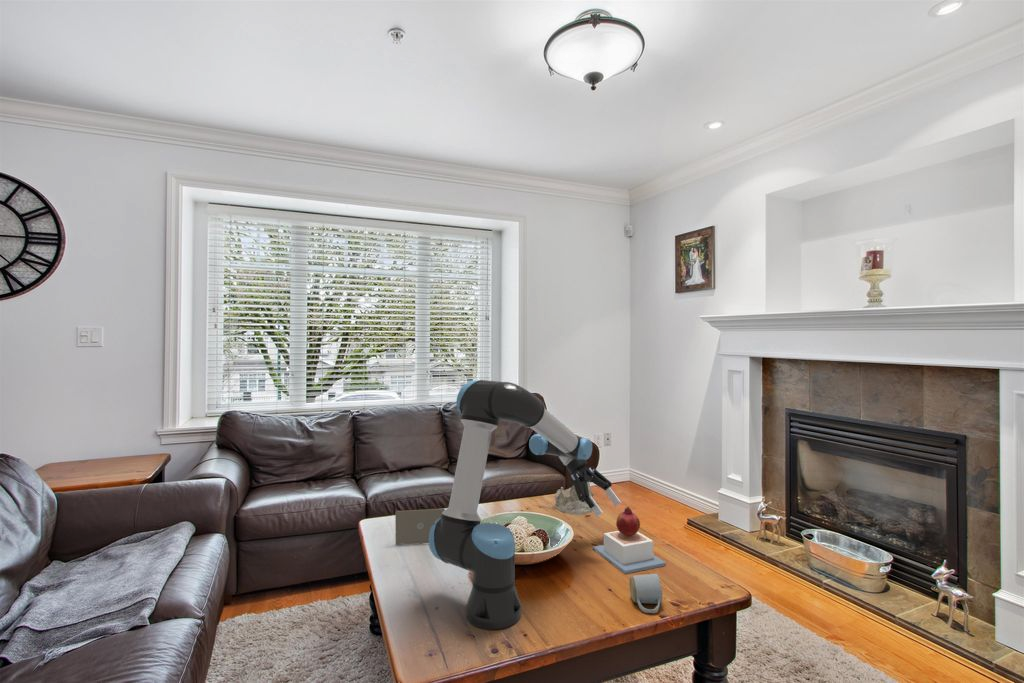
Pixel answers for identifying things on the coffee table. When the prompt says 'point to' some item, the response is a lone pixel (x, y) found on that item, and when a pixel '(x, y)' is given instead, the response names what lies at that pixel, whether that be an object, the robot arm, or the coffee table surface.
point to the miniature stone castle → (571, 501)
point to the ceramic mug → (646, 591)
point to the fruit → (628, 523)
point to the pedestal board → (632, 565)
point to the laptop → (415, 525)
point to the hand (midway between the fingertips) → (609, 509)
